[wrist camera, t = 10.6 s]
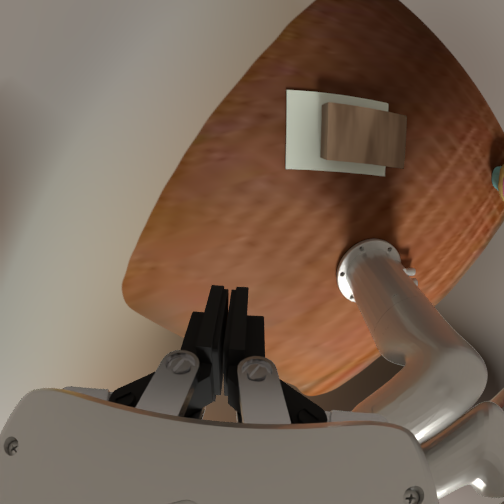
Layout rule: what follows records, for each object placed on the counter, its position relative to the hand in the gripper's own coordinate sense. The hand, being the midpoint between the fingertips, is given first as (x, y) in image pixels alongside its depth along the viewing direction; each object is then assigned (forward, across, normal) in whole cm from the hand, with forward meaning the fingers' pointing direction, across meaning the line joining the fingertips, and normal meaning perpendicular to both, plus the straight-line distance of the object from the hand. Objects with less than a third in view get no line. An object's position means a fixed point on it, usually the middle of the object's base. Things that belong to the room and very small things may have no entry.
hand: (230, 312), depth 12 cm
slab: (+28, -10, -9) cm, 31 cm away
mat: (+30, -13, -9) cm, 34 cm away
